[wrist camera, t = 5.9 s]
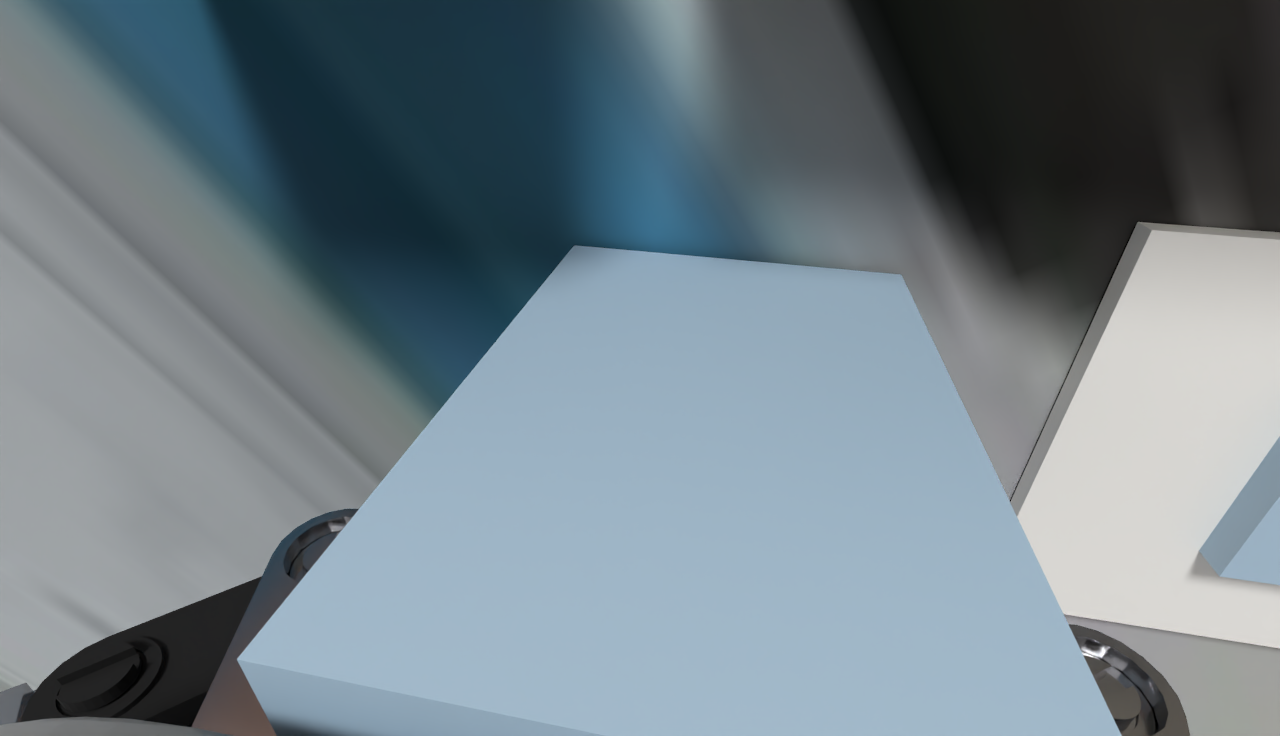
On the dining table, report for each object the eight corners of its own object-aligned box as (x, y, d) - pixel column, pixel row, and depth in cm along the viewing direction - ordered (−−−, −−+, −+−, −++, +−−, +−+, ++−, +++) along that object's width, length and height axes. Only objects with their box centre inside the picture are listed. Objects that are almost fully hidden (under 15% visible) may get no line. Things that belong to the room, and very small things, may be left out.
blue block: (901, 274, 10) (1181, 854, 3) (836, 519, 13) (909, 1099, 6) (574, 245, 11) (236, 659, 4) (581, 482, 14) (393, 958, 7)
